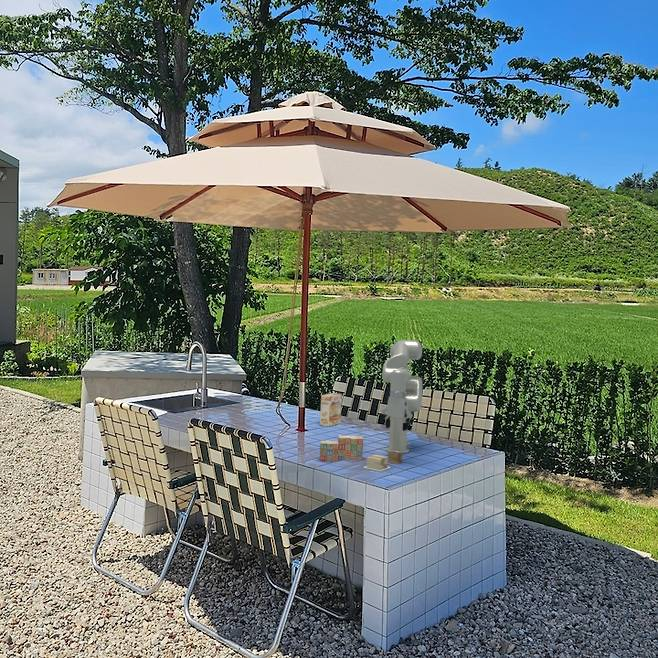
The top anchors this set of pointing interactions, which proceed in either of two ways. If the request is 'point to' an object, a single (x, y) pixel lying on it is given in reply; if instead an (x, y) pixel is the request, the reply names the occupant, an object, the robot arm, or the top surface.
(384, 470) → the board
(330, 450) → the stack of blocks
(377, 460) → the maple base block
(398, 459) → the walnut block
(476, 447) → the top surface
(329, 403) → the coffeecake box
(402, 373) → the robot arm
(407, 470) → the top surface
